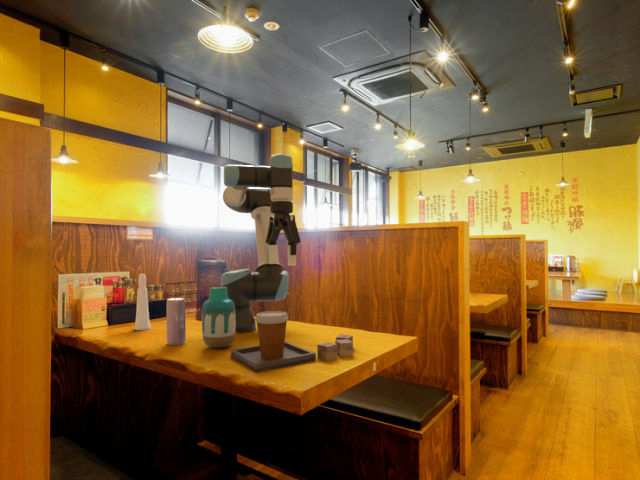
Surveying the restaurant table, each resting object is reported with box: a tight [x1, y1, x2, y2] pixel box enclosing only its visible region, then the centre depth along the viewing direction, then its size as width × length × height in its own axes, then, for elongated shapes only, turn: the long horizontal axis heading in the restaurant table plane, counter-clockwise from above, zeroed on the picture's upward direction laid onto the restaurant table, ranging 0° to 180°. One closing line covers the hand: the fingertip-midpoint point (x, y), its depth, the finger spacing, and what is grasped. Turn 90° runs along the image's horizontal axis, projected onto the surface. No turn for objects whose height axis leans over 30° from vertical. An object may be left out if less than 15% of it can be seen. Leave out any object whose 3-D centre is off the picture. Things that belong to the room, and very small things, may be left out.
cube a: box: [316, 341, 338, 362], centre depth 111 cm, size 4×4×4 cm
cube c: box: [335, 334, 354, 343], centre depth 121 cm, size 4×4×4 cm
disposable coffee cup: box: [254, 310, 289, 358], centre depth 112 cm, size 10×10×12 cm
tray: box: [230, 340, 317, 373], centre depth 112 cm, size 18×18×2 cm
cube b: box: [334, 339, 354, 358], centre depth 115 cm, size 4×4×4 cm
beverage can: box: [166, 297, 187, 346], centre depth 132 cm, size 6×6×15 cm
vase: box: [201, 286, 236, 349], centre depth 126 cm, size 11×11×19 cm
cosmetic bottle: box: [134, 273, 152, 331], centre depth 157 cm, size 6×6×22 cm
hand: (282, 264), depth 131 cm, fingers open, 13 cm apart
